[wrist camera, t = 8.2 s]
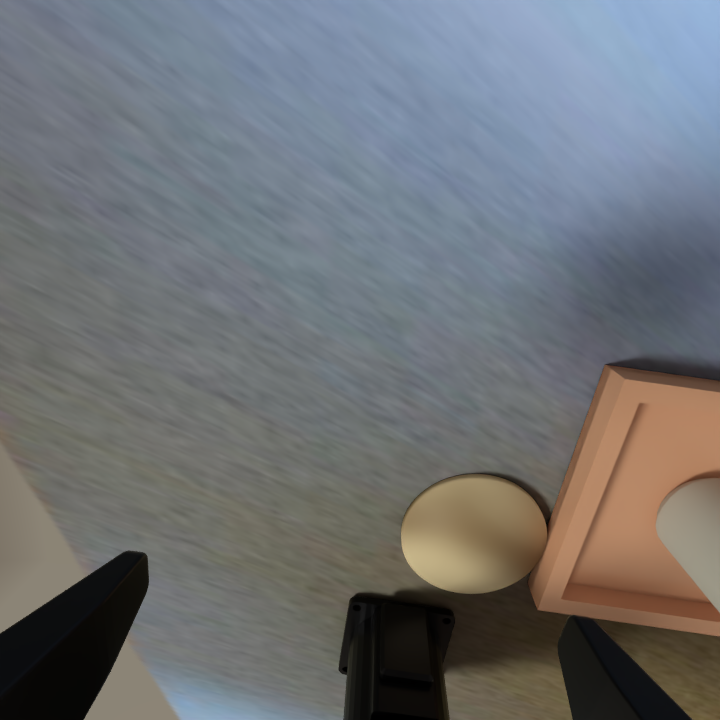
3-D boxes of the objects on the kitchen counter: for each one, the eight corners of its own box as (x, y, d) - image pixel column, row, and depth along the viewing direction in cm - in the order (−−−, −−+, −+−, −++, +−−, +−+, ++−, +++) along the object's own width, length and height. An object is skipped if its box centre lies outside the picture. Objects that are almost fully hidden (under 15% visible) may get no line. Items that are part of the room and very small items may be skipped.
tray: (762, 616, 25) (789, 646, 24) (527, 582, 25) (537, 610, 24) (896, 405, 20) (942, 423, 19) (605, 364, 20) (625, 379, 19)
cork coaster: (522, 595, 26) (525, 602, 25) (391, 576, 26) (391, 583, 25) (562, 485, 23) (565, 491, 22) (414, 464, 23) (414, 469, 22)
